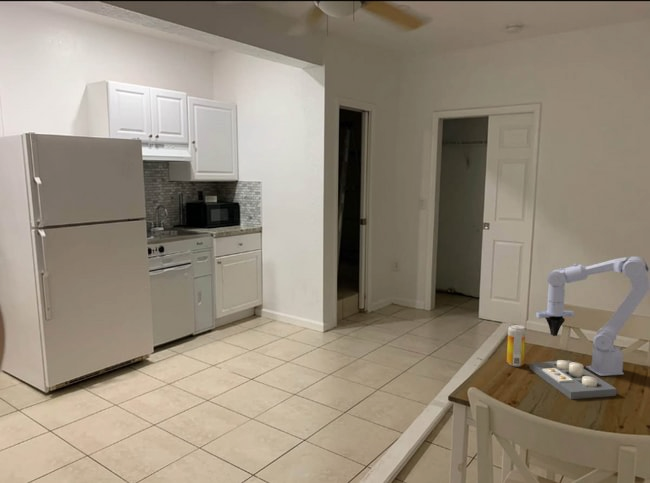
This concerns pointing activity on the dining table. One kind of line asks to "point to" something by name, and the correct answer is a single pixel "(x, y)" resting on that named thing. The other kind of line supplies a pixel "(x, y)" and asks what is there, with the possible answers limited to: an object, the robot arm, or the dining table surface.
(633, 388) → the dining table surface
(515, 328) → the beer can
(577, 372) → the button
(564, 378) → the tile
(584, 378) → the button
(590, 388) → the board
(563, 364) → the button
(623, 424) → the dining table surface
